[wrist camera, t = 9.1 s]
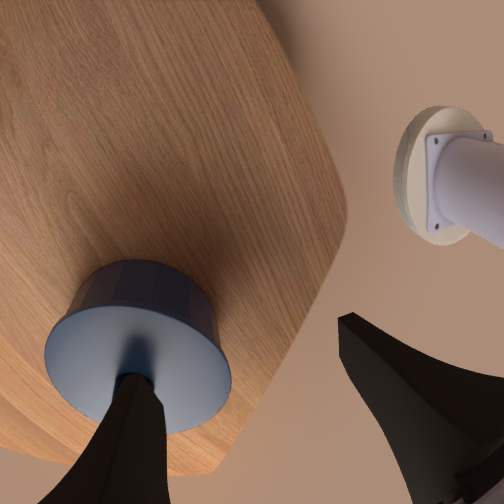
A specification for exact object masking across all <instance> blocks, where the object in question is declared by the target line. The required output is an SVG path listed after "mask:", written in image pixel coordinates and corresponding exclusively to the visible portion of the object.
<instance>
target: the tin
mask: <svg viewBox="0 0 504 504" xmlns="http://www.w3.org/2000/svg"><path fill="white" fill-rule="evenodd" d="M111 300H121V301H134V302H140V303H146V304H150V305H154V306H158V307H161V308H164V309H166V310H169V311H172V312H174V313H176V314H178V315H181V316H183V317H185V318H187V319H188V320H190V321H191V322H193V323H195V324H196V325H198V326H199V327H200V328H202V329H203V330H204V331H205V332H207V333H208V334H209V335H210V336H211V337H212V338H213V339H214V340H215V341H216V342H217V344H218V345H219V346H220V348H221V343H220V338H219V332H218V326H217V321H216V319H215V316H214V312H213V308H212V306H211V304H210V301H209V299H208V298H207V296H206V295H205V293H204V292H203V291H202V289H201V288H200V287H199V286H198V285H197V284H196V283H195V282H194V281H193V280H192V279H190V278H189V277H187V276H186V275H185V274H183V273H182V272H180V271H178V270H176V269H174V268H172V267H169V266H167V265H164V264H161V263H157V262H153V261H147V260H125V261H119V262H115V263H112V264H109V265H107V266H104V267H103V268H101V269H99V270H97V271H96V272H95V273H93V274H92V275H91V276H90V277H89V278H88V279H87V280H86V281H85V283H84V284H83V285H82V286H81V287H80V288H79V290H78V292H77V294H76V296H75V298H74V299H73V301H72V303H71V305H70V307H69V309H68V311H67V313H69V312H70V311H72V310H74V309H76V308H78V307H81V306H84V305H87V304H90V303H95V302H100V301H111ZM67 313H66V314H67Z"/></svg>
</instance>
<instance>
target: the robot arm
mask: <svg viewBox="0 0 504 504" xmlns="http://www.w3.org/2000/svg"><path fill="white" fill-rule="evenodd" d="M434 139H435V143H434ZM425 154H426V176H427V223H426V229H427V231H428V232H429V233H435V232H438V231H440V230H443V229H446V228H449V227H451V226H454V225H457V224H458V225H460V226H462V227H464V228H465V229H467V230H469V231H471V232H473V233H475V234H477V235H478V236H480V237H482V238H484V239H485V240H487V241H489V242H491V243H493V244H494V245H496V246H498V247H499V248H501V249H503V250H504V144H500V143H496V142H493V134H492V132H491V131H490V130H478V131H462V132H448V133H437V134H428V135H426V137H425ZM435 226H436V227H435ZM338 333H339V356H340V359H341V361H342V363H343V365H344V367H345V370H346V372H347V374H348V376H349V378H350V380H351V381H352V383H353V384H354V386H355V387H356V389H357V390H358V392H359V393H360V395H361V397H362V398H363V400H364V401H365V403H366V404H367V406H368V408H369V409H370V411H371V412H372V414H373V415H374V417H375V418H376V420H377V421H378V423H379V425H380V427H381V428H382V430H383V432H384V434H385V436H386V438H387V440H388V443H389V445H390V447H391V449H392V451H393V453H394V456H395V458H396V460H397V463H398V465H399V467H400V470H401V472H402V475H403V477H404V480H405V482H406V485H407V488H408V491H409V493H410V496H411V499H412V502H413V504H504V378H501V377H496V376H491V375H485V374H481V373H477V372H473V371H470V370H466V369H463V368H459V367H456V366H453V365H450V364H448V363H445V362H442V361H440V360H437V359H435V358H433V357H430V356H428V355H426V354H424V353H422V352H420V351H418V350H416V349H414V348H412V347H410V346H408V345H406V344H404V343H402V342H401V341H399V340H397V339H396V338H394V337H392V336H390V335H389V334H387V333H385V332H384V331H382V330H380V329H379V328H377V327H376V326H374V325H373V324H371V323H369V322H368V321H366V320H365V319H363V318H362V317H360V316H359V315H357V314H355V313H354V312H352V313H349V314H347V315H344V316H341V317H339V318H338ZM37 504H171V503H170V498H169V492H168V483H167V429H166V420H165V413H164V405H163V404H162V402H161V401H160V400H159V398H158V397H157V396H156V394H155V393H154V391H153V390H152V388H151V387H150V386H149V384H148V383H147V381H146V380H145V378H144V377H143V375H142V374H141V373H136V374H130V375H126V376H125V378H124V380H123V382H122V384H121V386H120V387H119V389H118V391H117V393H116V395H115V397H114V399H113V401H112V403H111V405H110V407H109V408H108V410H107V412H106V414H105V416H104V418H103V420H102V421H101V423H100V425H99V427H98V428H97V430H96V432H95V433H94V435H93V437H92V439H91V440H90V442H89V444H88V445H87V447H86V448H85V450H84V451H83V453H82V454H81V456H80V457H79V458H78V460H77V461H76V463H75V464H74V465H73V467H72V468H71V469H70V470H69V472H68V473H67V474H66V475H65V476H64V477H63V479H62V480H61V481H60V482H59V483H58V484H57V485H56V487H55V488H54V489H53V490H52V491H51V492H50V493H49V494H47V495H46V496H45V497H44V498H43V499H42V500H41V501H40V502H39V503H37Z"/></svg>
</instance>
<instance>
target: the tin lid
mask: <svg viewBox="0 0 504 504" xmlns="http://www.w3.org/2000/svg"><path fill="white" fill-rule="evenodd" d="M44 356H45V365H46V369H47V372H48V375H49V377H50V379H51V381H52V383H53V385H54V386H55V388H56V389H57V391H58V392H59V393H60V395H61V396H62V397H63V398H64V399H65V400H66V401H67V402H68V403H69V404H70V405H71V406H73V407H74V408H75V409H76V410H78V411H79V412H80V413H82V414H83V415H85V416H86V417H88V418H90V419H92V420H94V421H96V422H98V423H101V421H102V420H103V418H104V416H105V414H106V412H107V410H108V408H109V407H110V405H111V403H112V401H113V399H114V397H115V395H116V393H117V391H118V389H119V387H120V386H121V384H122V382H123V380H124V378H125V376H126V375H130V374H136V373H141V374H142V375H143V377H144V378H145V380H146V381H147V383H148V384H149V386H150V387H151V388H152V390H153V391H154V393H155V394H156V396H157V397H158V398H159V400H160V401H161V402H162V404H163V405H164V413H165V420H166V429H167V434H173V433H178V432H182V431H186V430H189V429H192V428H194V427H197V426H199V425H201V424H203V423H204V422H206V421H208V420H209V419H211V418H212V417H213V416H214V415H215V414H217V413H218V412H219V411H220V409H221V408H222V407H223V406H224V404H225V402H226V401H227V399H228V397H229V393H230V390H231V383H232V380H231V371H230V367H229V364H228V360H227V358H226V356H225V354H224V352H223V350H222V349H221V348H220V346H219V345H218V344H217V342H216V341H215V340H214V339H213V338H212V337H211V336H210V335H209V334H208V333H207V332H205V331H204V330H203V329H202V328H200V327H199V326H198V325H196V324H195V323H193V322H191V321H190V320H188V319H187V318H185V317H183V316H181V315H178V314H176V313H174V312H172V311H169V310H166V309H164V308H161V307H158V306H154V305H150V304H146V303H140V302H134V301H121V300H111V301H100V302H95V303H90V304H87V305H84V306H81V307H78V308H76V309H74V310H72V311H70V312H69V313H67V314H66V315H65V316H63V317H62V318H61V319H60V320H59V321H58V322H57V323H56V324H55V326H54V327H53V329H52V331H51V333H50V334H49V336H48V338H47V342H46V345H45V354H44Z"/></svg>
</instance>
